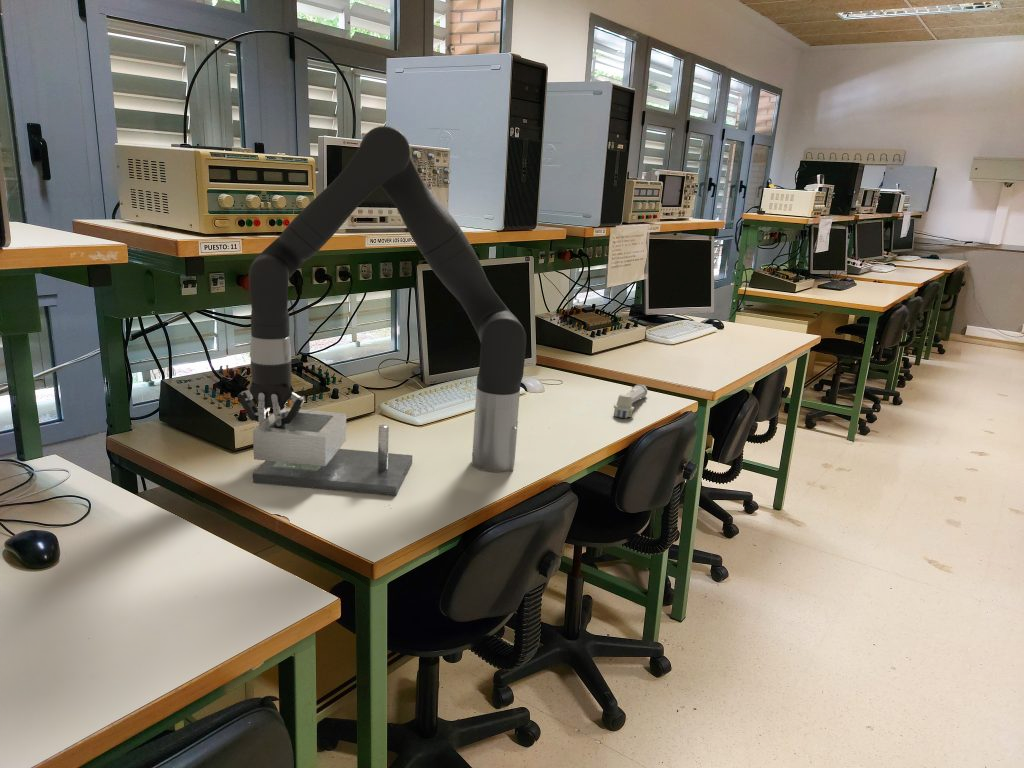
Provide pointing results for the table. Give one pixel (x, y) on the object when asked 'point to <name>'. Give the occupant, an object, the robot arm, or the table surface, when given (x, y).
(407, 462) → the grey base with peg
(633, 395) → the grey handheld tool
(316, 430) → the grey recessed block
